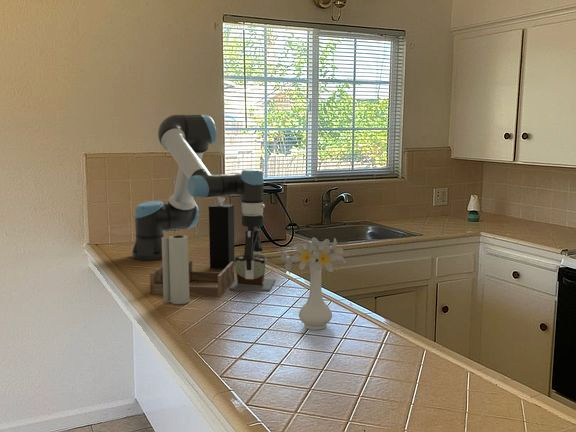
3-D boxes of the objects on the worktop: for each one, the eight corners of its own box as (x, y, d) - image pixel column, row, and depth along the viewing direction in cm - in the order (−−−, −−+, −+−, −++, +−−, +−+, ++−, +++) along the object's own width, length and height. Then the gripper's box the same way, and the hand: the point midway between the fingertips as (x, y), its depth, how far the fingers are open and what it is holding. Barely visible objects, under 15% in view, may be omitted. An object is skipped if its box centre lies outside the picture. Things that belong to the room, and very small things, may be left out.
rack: (170, 278, 224) (169, 259, 223) (234, 280, 221) (233, 261, 220) (150, 293, 203) (150, 273, 202) (220, 296, 200) (220, 275, 199)
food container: (272, 282, 216) (272, 255, 214) (266, 287, 210) (266, 258, 208) (240, 279, 219) (240, 252, 218) (233, 284, 214) (233, 256, 212)
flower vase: (274, 325, 172) (273, 238, 168) (330, 316, 180) (331, 233, 176) (294, 339, 160) (295, 246, 157) (354, 329, 168) (355, 240, 165)
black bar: (229, 270, 237) (227, 198, 232) (209, 269, 238) (208, 198, 234) (234, 265, 244) (233, 196, 240) (216, 264, 246) (214, 195, 241)
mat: (237, 279, 222) (237, 277, 222) (275, 280, 220) (275, 279, 220) (229, 289, 208) (229, 288, 208) (269, 291, 207) (269, 289, 207)
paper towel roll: (193, 300, 196) (191, 235, 192) (182, 305, 190) (180, 238, 187) (174, 298, 199) (172, 233, 195) (163, 303, 193) (161, 236, 190)
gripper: (256, 220, 198) (257, 283, 201) (268, 209, 222) (269, 266, 226) (234, 219, 199) (235, 282, 202) (248, 209, 223) (249, 265, 227)
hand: (253, 274), depth 214 cm, fingers open, 13 cm apart
